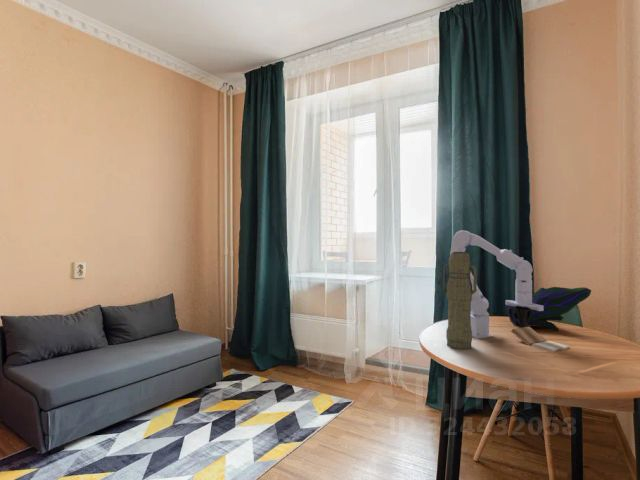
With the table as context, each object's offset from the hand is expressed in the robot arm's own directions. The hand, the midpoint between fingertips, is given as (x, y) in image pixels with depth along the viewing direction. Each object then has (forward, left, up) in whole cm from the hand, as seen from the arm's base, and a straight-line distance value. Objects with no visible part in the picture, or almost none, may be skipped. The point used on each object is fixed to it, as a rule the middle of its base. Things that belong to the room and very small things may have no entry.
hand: (523, 326), depth 145 cm
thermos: (-28, +6, -6) cm, 29 cm away
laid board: (0, -10, -6) cm, 12 cm away
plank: (0, -2, -4) cm, 4 cm away
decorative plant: (+29, +11, -6) cm, 32 cm away
